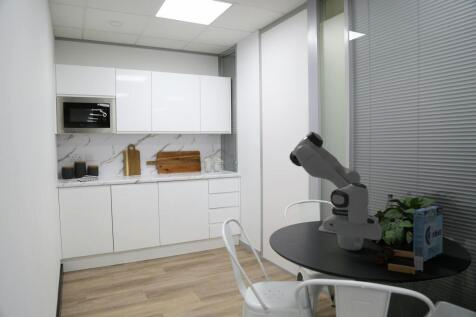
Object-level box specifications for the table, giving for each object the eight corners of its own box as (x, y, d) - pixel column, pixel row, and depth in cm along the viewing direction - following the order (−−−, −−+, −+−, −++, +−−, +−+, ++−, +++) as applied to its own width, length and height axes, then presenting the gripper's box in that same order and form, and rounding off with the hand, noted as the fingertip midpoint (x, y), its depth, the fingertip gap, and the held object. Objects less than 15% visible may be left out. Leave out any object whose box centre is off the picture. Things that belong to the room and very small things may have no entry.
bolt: (376, 269, 143) (387, 259, 155) (387, 266, 140) (396, 256, 152) (369, 257, 145) (380, 247, 156) (380, 253, 142) (390, 244, 153)
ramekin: (366, 252, 161) (366, 238, 161) (338, 250, 164) (338, 237, 163) (361, 244, 174) (361, 231, 174) (335, 243, 176) (336, 230, 176)
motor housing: (388, 270, 138) (388, 254, 137) (390, 254, 157) (390, 240, 157) (423, 275, 132) (423, 259, 132) (421, 258, 151) (421, 244, 151)
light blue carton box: (423, 262, 147) (424, 212, 146) (412, 259, 151) (413, 210, 150) (442, 253, 158) (443, 207, 157) (431, 251, 162) (432, 205, 161)
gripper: (334, 216, 155) (333, 245, 155) (380, 221, 145) (380, 251, 146) (336, 214, 160) (336, 241, 161) (381, 218, 151) (381, 248, 151)
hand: (357, 246), depth 153 cm, fingers closed
